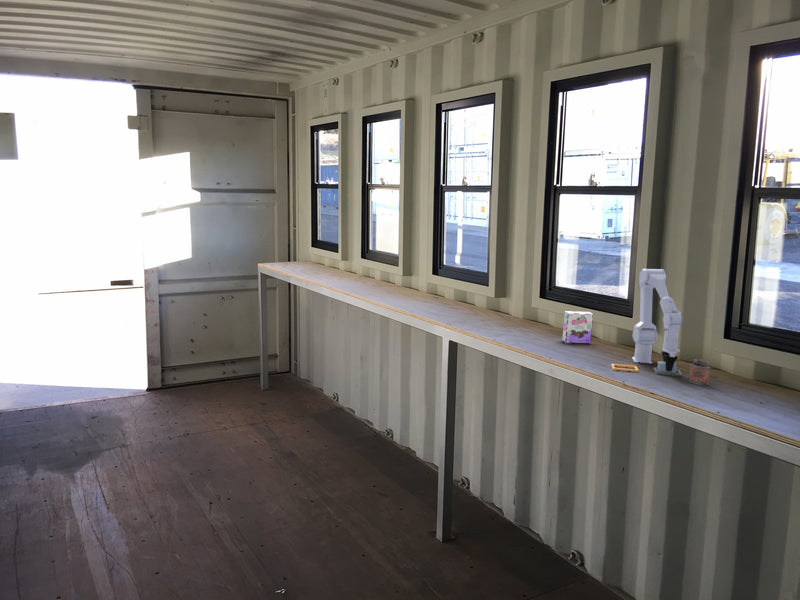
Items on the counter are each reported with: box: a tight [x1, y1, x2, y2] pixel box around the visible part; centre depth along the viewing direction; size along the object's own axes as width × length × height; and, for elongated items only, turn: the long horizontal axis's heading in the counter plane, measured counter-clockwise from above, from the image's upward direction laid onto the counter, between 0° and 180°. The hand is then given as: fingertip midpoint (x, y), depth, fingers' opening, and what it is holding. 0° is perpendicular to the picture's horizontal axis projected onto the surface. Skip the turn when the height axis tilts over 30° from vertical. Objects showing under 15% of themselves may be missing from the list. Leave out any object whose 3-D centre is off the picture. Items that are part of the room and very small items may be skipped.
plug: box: [656, 360, 678, 373], centre depth 281 cm, size 4×7×5 cm, turn 77°
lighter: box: [688, 358, 711, 386], centre depth 266 cm, size 8×3×10 cm, turn 40°
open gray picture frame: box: [652, 367, 683, 377], centre depth 281 cm, size 8×11×1 cm
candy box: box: [561, 310, 594, 345], centre depth 337 cm, size 14×6×16 cm, turn 92°
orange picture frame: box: [610, 363, 639, 373], centre depth 285 cm, size 8×11×1 cm
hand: (667, 369), depth 281 cm, fingers closed on plug, 4 cm apart
